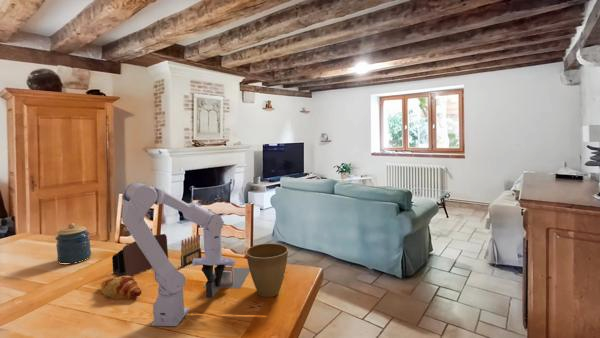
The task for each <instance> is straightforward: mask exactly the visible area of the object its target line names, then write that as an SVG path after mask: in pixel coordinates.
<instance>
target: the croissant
mask: <svg viewBox="0 0 600 338" xmlns="http://www.w3.org/2000/svg"><path fill="white" fill-rule="evenodd" d="M100 287H101V292H102V293H103V295H104V297H105V298H110V299H113V300H121V299H126V300H129V299H135V298H137V297H139V296H141V295H142V289H141V288H140V286H139V285H138V282H137V281H136V280H135V278H134V276H119V277H111V278H107V279H105V280H104V281H102V283H101V284H100Z"/></svg>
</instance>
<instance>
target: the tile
mask: <svg viewBox="0 0 600 338" xmlns="http://www.w3.org/2000/svg"><path fill="white" fill-rule="evenodd" d="M216 267H217V265H213V271H215V270H214V269H215V268H216ZM233 268H234V266H225V268H224V271H231V275H232V282H231V283H221V284H223V285H233V284H234V269H233Z"/></svg>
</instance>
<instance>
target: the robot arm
mask: <svg viewBox="0 0 600 338" xmlns="http://www.w3.org/2000/svg"><path fill="white" fill-rule="evenodd" d="M121 201H122V208H121V210H122V212H121V221H122V223H123V225H124V226H125V228H126V230H128V232H129V234H130V235H131V236H132V238H133V240H134V242H135V241H136V243H137V244H138V246H139V247H140V249H141V251H142V252H143V254H144V255H145V257H146V258H147V260H148V261H149V263H150V264H151V266H152V268H151V270H152V272H153V273H154V280H155V282H156V283H157V284H158V289H157V298H156V300H155V301H154V302H153V305H152V306H153V307H152V310H153V311H152V312H153V322H152V323H151V326H153V327H155V326H156V327H158V326H159V327H161V326H162V327H177V326H178V325H179V324H180V322H182V320H183V319H184V317H185V316H186V315H187V314H188V312H189V310H190V307H185V299H184V287H185V285H186V281H187V280H186V276H185V274H184V273H182V272H181V271H178V270H177V268H176V266H174V265H173V263H172V262H171V261H170V260H169V257H168V258H167V256H166V255H165V253H164V251H163V250H162V248H161V247H160V245H159V243H158V242H157V240H156V238H155V237H154V235H155V234H153V232H152V231H151V229H150V227H149V225H148V224H147V223H146V220H145V217H146V215H147V213H148V212H149V210H150V209H152V206H154V204H155V205H161V204H162V205H163V204H164V205H166V206H168V207H170V208H172V209H175V210H177V211H179V212H181V213H182V216H183V219H186V220H188V221H190V222H192V223H193V224H195V225H198V226H200V228H202V229H203V246H204V248H203V249H204V257H202V258H194V259H193V260H192V267H195V266H202V268H201V271H202V273H203V274H204V276H205V278H206V280H207V281H208V280H209V279H210V277H211V276H212V275H213V271H214V270H215V274H216V285H217V287H218V286H219V285H220V284H221V277H222V274H223V271H224V268H225V266H233V267H235V265H236V259H235V258H228V257H223V248H222V247H223V246H222V229H223V227H224V224H225V221H224V220H223V218H222V216H221V215H220V214H217V213H214V212H213V210H212V209H210V208H208V209H207V208H206V207H204V206H202V203H200V202H197V201H196V202H194V201H193V202H188V203H187V202H186V201H184V200H182V199H180V198H178V197H176V196H175V195H173V194H171V193H169V192H168V191H165V190H163V189H161V188H158V187H154V186H152V185H150V184H149V185H148V184H144V183H141V182H138V181H135V182H131V183H129V184H128V185H127V186H126V187H125V189H124V191H123V193H122V195H121ZM215 265H217V267H216V268H215V269H214V266H215Z"/></svg>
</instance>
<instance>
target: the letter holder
mask: <svg viewBox="0 0 600 338" xmlns="http://www.w3.org/2000/svg"><path fill="white" fill-rule="evenodd" d="M153 235H154V237H155V238H156V240H157V242H158V243H159V245H160V247H161V248H162V250H163V251H164V253H165V255H166V256H167V258H168V259H169V251H168V249H169V248H168V237H167V234H165V233H159V234H153ZM111 259H112V260H111V262H112V273H113V274H115V275H117V276H119V277H122V276H131V277H134V276H136V275H138V274H141V273H143V272H146V271H147V270H148V271H149V270H150V269H151V270H152V266H151V264H150V263H149V261H148V260H147V258H146V257H145V255H144V254H143V252H142V251H141V249H140V247H139V246H138V244H137V243H136V241H135V240H134V241H133V242H131V243H128V244H126V245H124V246H123V248H122V249H121V250H119V251H118V252H117V253H115V254H114V255H112V257H111Z"/></svg>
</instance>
